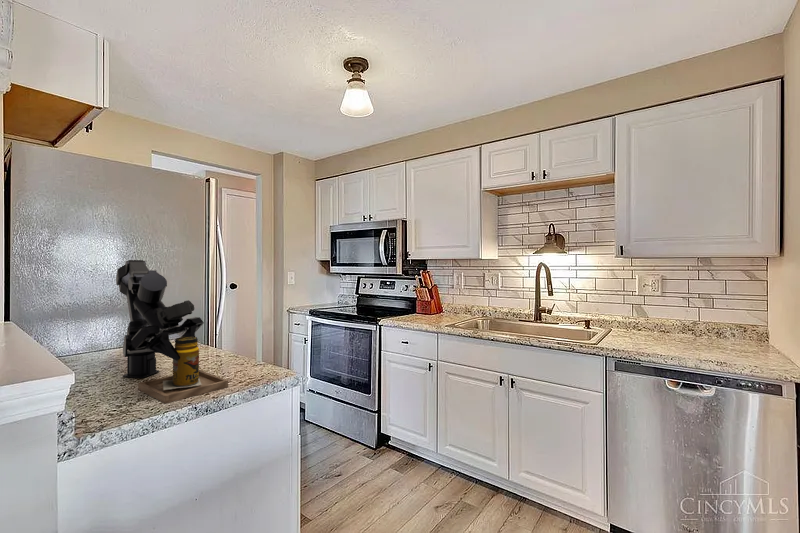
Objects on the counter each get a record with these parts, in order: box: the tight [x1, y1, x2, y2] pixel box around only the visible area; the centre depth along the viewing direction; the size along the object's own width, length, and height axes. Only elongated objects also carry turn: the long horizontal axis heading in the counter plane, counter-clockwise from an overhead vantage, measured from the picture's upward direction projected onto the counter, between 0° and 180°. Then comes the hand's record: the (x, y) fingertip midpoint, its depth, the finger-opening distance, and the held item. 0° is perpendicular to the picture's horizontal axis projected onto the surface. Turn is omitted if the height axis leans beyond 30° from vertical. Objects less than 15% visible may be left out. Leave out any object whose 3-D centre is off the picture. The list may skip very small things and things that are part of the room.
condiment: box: [163, 336, 202, 390], centre depth 102 cm, size 7×8×12 cm
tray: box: [137, 369, 229, 404], centre depth 102 cm, size 16×16×2 cm
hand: (188, 356), depth 102 cm, fingers closed on condiment, 6 cm apart
